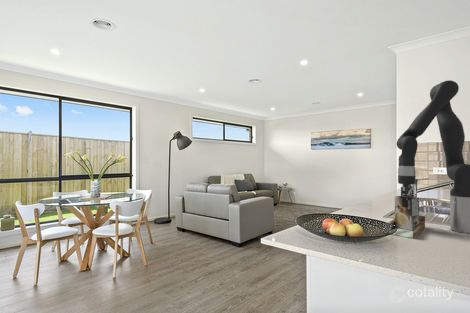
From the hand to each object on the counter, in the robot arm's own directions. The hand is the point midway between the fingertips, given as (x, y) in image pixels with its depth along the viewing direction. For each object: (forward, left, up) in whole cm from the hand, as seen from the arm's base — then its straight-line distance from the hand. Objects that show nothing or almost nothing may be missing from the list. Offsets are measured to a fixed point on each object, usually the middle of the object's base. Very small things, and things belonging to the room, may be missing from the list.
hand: (406, 206), depth 132 cm
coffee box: (0, 0, -12) cm, 12 cm away
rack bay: (0, +5, -11) cm, 13 cm away
